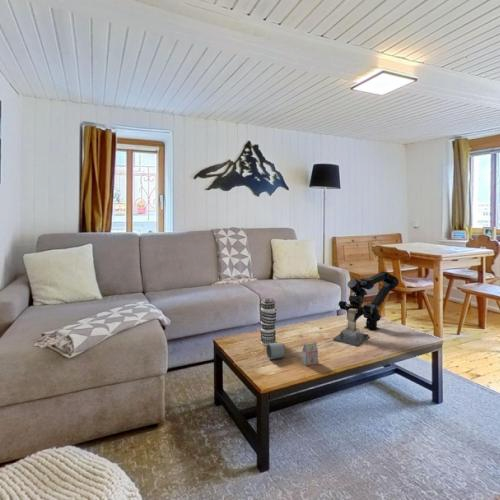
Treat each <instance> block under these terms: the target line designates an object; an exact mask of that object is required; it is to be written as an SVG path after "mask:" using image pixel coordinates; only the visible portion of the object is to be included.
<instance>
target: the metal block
mask: <svg viewBox="0 0 500 500" xmlns="http://www.w3.org/2000/svg"><path fill="white" fill-rule="evenodd" d="M356 313H357V309H353V308H350V309H349V310H348V320H347V327H348V330H350V331H354V332H355V331H356V328H357V320H356V321H354V319H355V316H356Z"/></svg>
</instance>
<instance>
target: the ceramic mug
mask: <svg viewBox="0 0 500 500" xmlns="http://www.w3.org/2000/svg"><path fill="white" fill-rule="evenodd" d="M265 349H266V350H265V352H266V356H267V358H268V360H276V359H282V358H284V357H285V356H286V353H287V351H286V346H285V344H284V343H282V342H276V343H269V344H267V346H266V348H265Z"/></svg>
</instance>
